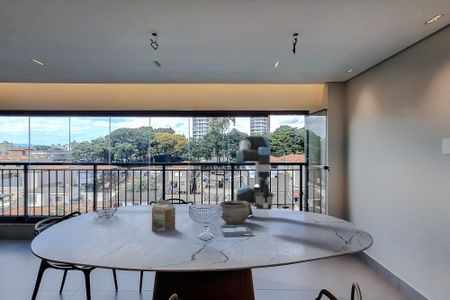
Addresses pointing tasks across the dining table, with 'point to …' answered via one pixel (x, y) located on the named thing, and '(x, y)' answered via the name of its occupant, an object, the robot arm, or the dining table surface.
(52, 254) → the dining table surface
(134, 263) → the dining table surface
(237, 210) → the ceramic bowl
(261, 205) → the food container
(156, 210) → the milk carton
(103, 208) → the geometric lantern
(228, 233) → the tray
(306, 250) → the dining table surface
